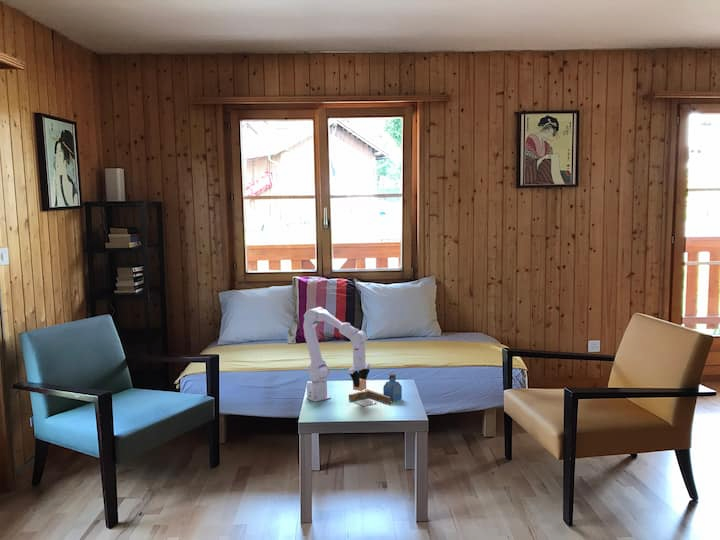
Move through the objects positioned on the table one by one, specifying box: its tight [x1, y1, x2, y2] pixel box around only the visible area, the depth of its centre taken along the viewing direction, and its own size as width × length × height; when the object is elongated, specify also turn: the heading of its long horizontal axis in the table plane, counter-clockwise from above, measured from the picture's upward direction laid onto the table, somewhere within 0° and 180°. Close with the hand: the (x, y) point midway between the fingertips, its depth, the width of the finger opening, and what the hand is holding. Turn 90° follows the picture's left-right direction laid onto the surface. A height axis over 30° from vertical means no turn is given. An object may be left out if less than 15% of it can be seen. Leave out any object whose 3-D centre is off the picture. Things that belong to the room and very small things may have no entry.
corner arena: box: [348, 388, 392, 408], centre depth 294 cm, size 13×18×3 cm
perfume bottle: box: [382, 373, 403, 403], centre depth 297 cm, size 6×6×12 cm
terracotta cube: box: [352, 379, 367, 392], centre depth 291 cm, size 4×4×5 cm
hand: (359, 385), depth 291 cm, fingers closed on terracotta cube, 4 cm apart
